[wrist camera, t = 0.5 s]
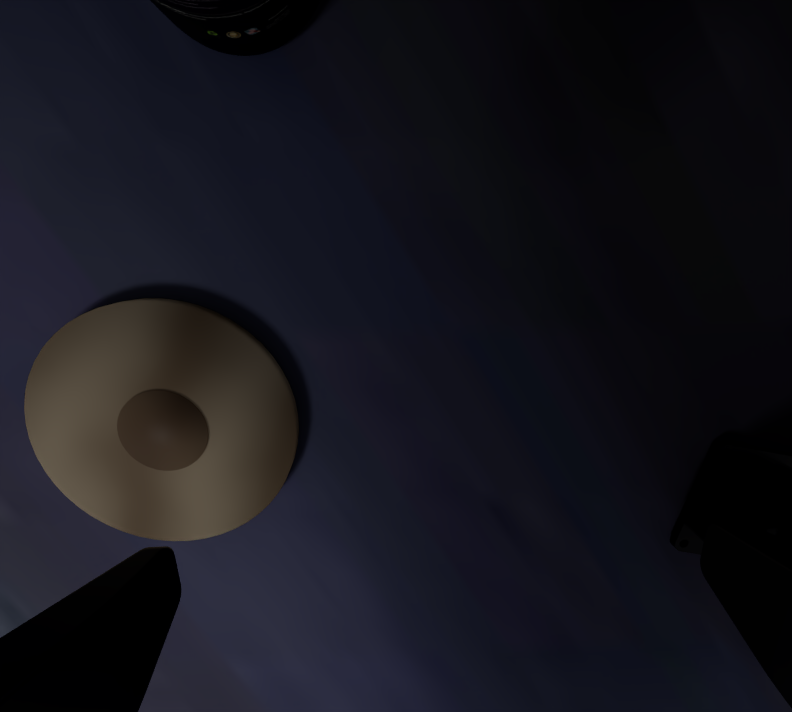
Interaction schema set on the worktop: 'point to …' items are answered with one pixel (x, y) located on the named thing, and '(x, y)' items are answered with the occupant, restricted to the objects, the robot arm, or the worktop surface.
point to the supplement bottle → (239, 22)
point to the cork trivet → (162, 419)
